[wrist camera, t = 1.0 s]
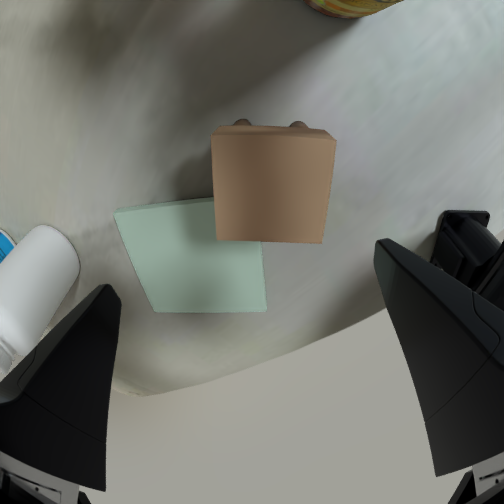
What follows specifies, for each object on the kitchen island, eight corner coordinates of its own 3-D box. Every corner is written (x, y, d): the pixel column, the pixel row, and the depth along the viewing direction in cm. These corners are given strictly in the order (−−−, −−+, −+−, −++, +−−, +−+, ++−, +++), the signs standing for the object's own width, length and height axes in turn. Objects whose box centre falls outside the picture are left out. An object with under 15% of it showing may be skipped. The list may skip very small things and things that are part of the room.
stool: (311, 118, 16) (336, 140, 11) (305, 190, 20) (321, 243, 14) (230, 115, 17) (210, 135, 11) (231, 188, 20) (216, 240, 14)
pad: (256, 193, 20) (255, 198, 19) (266, 305, 27) (266, 311, 26) (117, 209, 21) (112, 213, 21) (156, 306, 28) (154, 312, 28)
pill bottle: (36, 266, 26) (-24, 356, 14) (28, 214, 22) (-56, 309, 9) (84, 288, 28) (28, 394, 15) (80, 235, 23) (-4, 355, 11)
